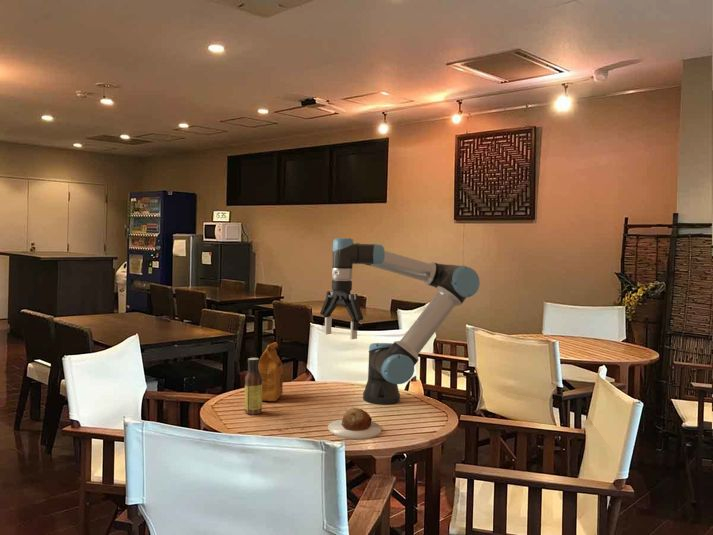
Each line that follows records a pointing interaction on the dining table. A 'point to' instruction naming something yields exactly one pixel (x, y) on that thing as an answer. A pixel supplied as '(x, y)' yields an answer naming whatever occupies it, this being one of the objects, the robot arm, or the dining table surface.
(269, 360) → the coffee package
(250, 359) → the sauce bottle
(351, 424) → the bread roll
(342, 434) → the plate
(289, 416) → the dining table surface
